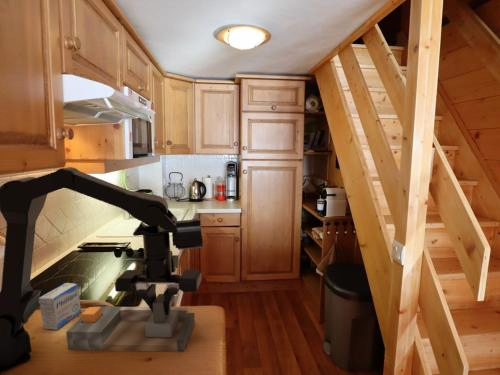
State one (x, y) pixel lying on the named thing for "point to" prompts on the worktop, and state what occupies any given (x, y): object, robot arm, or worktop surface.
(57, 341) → the worktop surface
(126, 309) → the rail
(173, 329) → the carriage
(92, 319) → the button
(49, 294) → the medicine box
